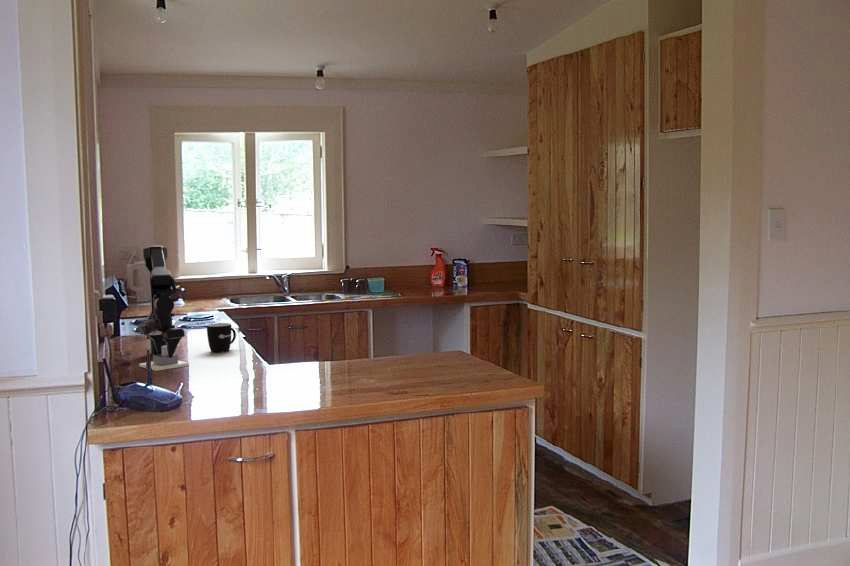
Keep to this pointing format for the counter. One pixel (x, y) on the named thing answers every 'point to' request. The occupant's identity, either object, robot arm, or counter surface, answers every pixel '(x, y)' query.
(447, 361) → the counter surface
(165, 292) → the robot arm
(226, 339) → the mug
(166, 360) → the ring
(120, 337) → the counter surface
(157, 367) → the peg board
